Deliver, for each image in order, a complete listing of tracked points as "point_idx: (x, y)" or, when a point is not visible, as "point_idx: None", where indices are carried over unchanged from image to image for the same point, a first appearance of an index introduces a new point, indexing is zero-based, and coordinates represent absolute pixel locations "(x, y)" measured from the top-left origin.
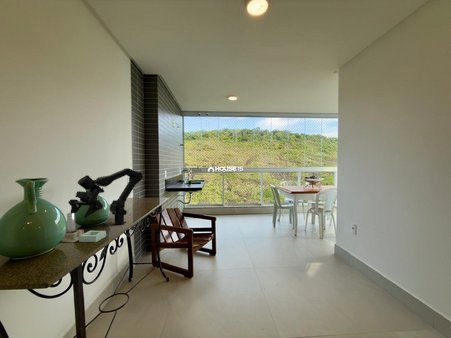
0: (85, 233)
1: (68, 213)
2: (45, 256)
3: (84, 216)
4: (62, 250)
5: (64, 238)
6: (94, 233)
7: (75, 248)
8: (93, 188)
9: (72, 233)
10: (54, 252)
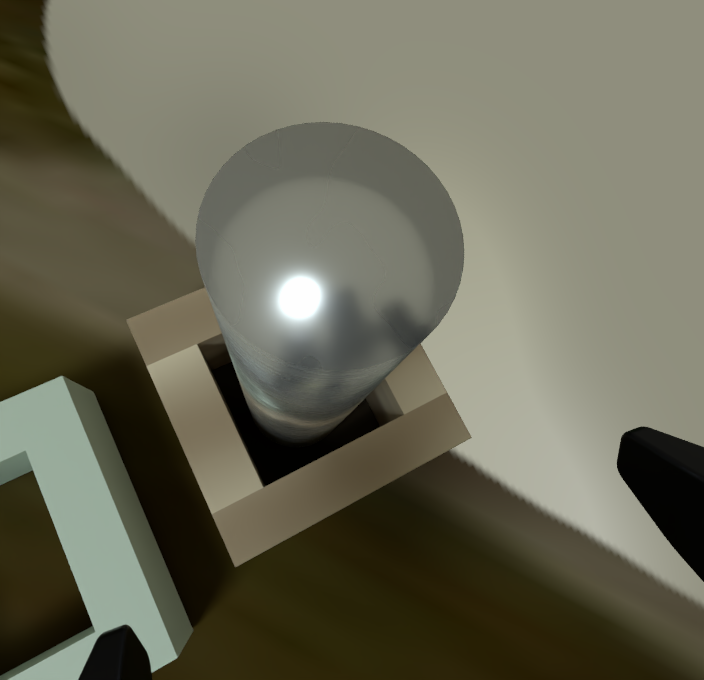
0: (95, 513)
1: (413, 199)
2: (14, 13)
3: (111, 634)
4: (10, 156)
5: None
6: (40, 658)
7: None
8: None
9: (198, 343)
10: (37, 95)
